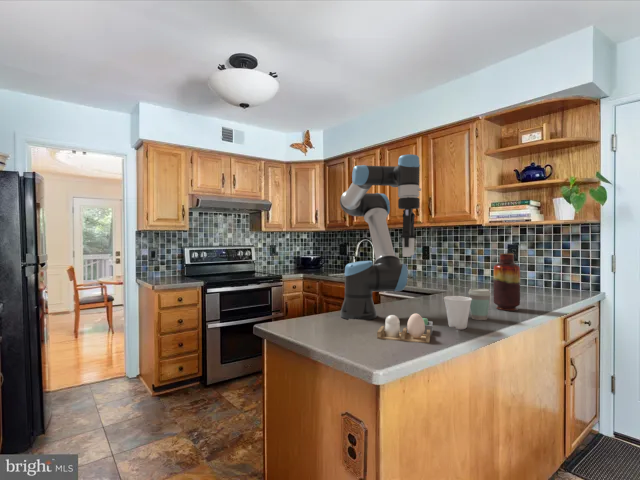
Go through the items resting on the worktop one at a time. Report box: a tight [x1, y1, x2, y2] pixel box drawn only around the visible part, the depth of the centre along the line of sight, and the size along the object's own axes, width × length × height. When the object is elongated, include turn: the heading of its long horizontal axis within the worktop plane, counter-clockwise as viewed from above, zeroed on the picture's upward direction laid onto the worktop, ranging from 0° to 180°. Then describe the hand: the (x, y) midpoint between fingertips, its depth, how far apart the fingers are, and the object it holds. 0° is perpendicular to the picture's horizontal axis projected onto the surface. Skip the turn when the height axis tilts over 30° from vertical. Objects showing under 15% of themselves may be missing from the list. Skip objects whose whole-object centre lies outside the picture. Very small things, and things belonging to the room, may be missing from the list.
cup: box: [443, 295, 472, 330], centre depth 132 cm, size 10×10×11 cm
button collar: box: [423, 320, 434, 336], centre depth 122 cm, size 7×7×4 cm
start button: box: [422, 317, 429, 325], centre depth 122 cm, size 4×4×4 cm
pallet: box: [376, 325, 431, 344], centre depth 115 cm, size 16×8×3 cm, turn 71°
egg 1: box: [384, 314, 401, 338], centre depth 117 cm, size 5×5×7 cm
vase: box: [493, 253, 521, 312], centre depth 167 cm, size 11×11×26 cm
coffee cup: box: [467, 288, 491, 321], centre depth 147 cm, size 8×9×12 cm
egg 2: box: [406, 313, 425, 338], centre depth 114 cm, size 6×6×8 cm
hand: (408, 256), depth 130 cm, fingers open, 13 cm apart
